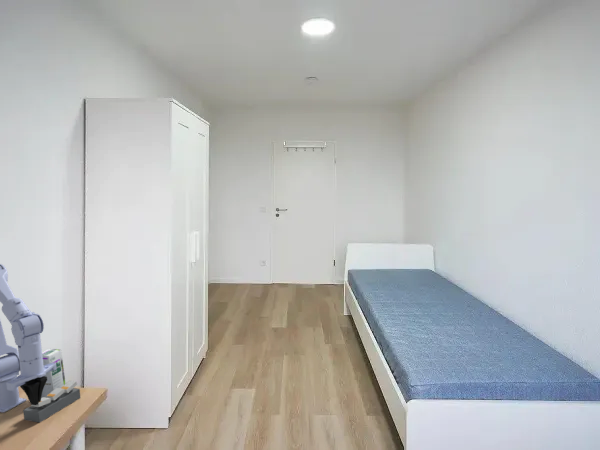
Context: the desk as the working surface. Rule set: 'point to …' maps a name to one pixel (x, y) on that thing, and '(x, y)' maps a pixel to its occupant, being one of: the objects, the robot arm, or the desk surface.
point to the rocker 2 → (55, 393)
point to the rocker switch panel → (51, 406)
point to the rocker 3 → (69, 386)
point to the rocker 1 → (43, 402)
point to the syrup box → (53, 377)
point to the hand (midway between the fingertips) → (35, 403)
